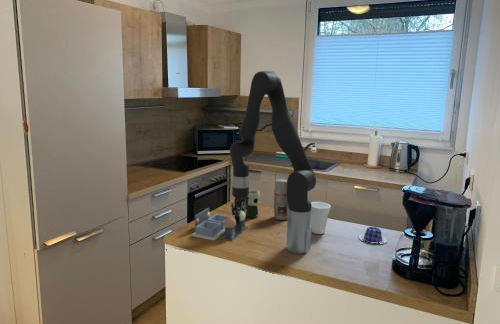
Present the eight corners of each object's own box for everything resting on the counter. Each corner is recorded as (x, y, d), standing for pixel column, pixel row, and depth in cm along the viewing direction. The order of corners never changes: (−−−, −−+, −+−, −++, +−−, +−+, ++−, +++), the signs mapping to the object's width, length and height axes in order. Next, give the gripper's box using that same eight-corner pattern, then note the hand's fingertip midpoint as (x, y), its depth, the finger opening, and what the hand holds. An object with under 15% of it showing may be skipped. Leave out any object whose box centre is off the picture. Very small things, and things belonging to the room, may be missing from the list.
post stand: (247, 228, 183) (247, 219, 182) (232, 241, 168) (232, 230, 167) (237, 226, 184) (237, 217, 184) (221, 238, 170) (221, 228, 169)
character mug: (252, 221, 192) (253, 195, 190) (240, 218, 196) (240, 193, 193) (263, 214, 202) (264, 190, 199) (251, 212, 205) (252, 188, 202)
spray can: (270, 218, 196) (271, 179, 192) (277, 214, 203) (278, 176, 199) (286, 222, 192) (288, 182, 188) (292, 217, 199) (294, 178, 195)
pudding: (390, 239, 176) (391, 228, 174) (381, 248, 166) (383, 236, 165) (364, 232, 182) (365, 221, 181) (354, 240, 173) (355, 229, 172)
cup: (322, 238, 174) (324, 210, 171) (302, 232, 180) (304, 205, 177) (332, 231, 182) (334, 204, 179) (313, 226, 188) (314, 200, 185)
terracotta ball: (237, 227, 172) (238, 216, 171) (232, 231, 168) (232, 220, 167) (227, 225, 174) (227, 214, 173) (222, 229, 170) (222, 218, 169)
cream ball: (247, 220, 181) (247, 209, 180) (242, 223, 177) (242, 213, 176) (237, 218, 183) (237, 208, 182) (232, 221, 179) (232, 211, 178)
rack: (234, 225, 186) (234, 216, 185) (214, 240, 168) (214, 231, 167) (214, 221, 190) (214, 213, 190) (192, 235, 172) (192, 226, 172)
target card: (209, 223, 187) (209, 207, 186) (195, 232, 176) (195, 215, 174) (208, 223, 187) (208, 207, 186) (194, 232, 176) (194, 215, 174)
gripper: (241, 190, 169) (240, 227, 172) (254, 182, 181) (253, 217, 185) (225, 188, 171) (225, 225, 175) (239, 180, 184) (239, 215, 188)
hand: (239, 221), depth 180 cm, fingers closed on cream ball, 5 cm apart
